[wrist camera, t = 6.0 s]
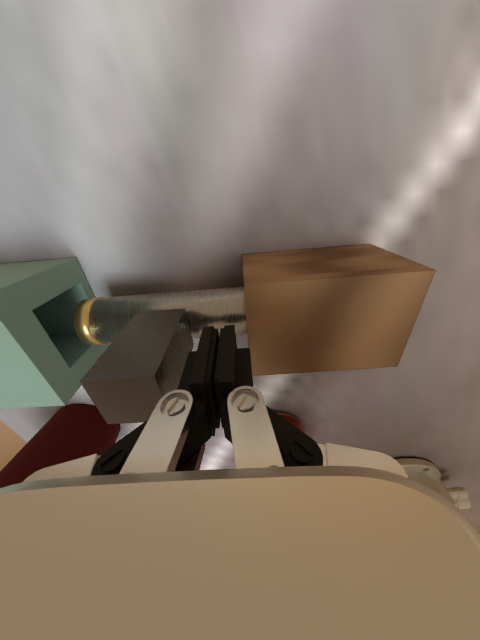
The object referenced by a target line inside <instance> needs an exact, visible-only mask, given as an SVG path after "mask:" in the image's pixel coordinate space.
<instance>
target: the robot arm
mask: <svg viewBox="0 0 480 640" xmlns="http://www.w3.org/2000/svg"><path fill="white" fill-rule="evenodd" d="M220 418H221V423H222V428H224V433H225V437H226V438H227V439H228V440H229V441H230V442H231V443H232V444H233V451H234V459H235V466H236V469H220V470H199V468H200V465H201V461H202V457H203V454H204V450H205V443H206V442H207V441H208V440H209V439H210V438H211V436H215V428H219V427H220ZM440 480H441V474H440V472H439V470H438V469H437V468H436V466H435V465H434V464H432V463H431V462H429V461H426V460H423V459H417V458H401V459H393V458H392V457H390V456H389V455H387V454H384V453H381V452H376V451H371V450H365V449H360V448H354V447H349V446H343V445H338V444H332V443H327V442H326V445H323V444H318V443H316V442H315V441H314V440H313V439H312V438H310V437H309V436H308V435H306V434H305V433H303V432H302V431H301V430H299V429H298V428H296V427H295V426H294V425H292V424H291V423H289V422H288V421H287V420H285V419H284V418H283V417H281V416H280V415H278V414H277V413H276V412H274V411H273V410H271V409H270V408H269V407H267V406H266V405H265V402H264V399H263V396H262V394H261V392H260V391H259V390H258V389H256V388H254V387H253V380H252V367H251V354H250V348H241V349H237V343H236V333H235V325H224V328H221V329H220V337H219V332H218V329H214V326H208V327H203V329H202V333H201V337H200V341H199V345H198V349H197V351H193V352H189V353H188V356H187V359H186V363H185V366H184V369H183V373H182V376H181V379H180V383H179V386H178V389H177V390H174V391H171V392H169V393H167V394H165V395H164V396H163V397H162V398H161V399H160V400H159V402H158V403H157V405H156V407H155V409H154V411H153V413H152V414H151V416H150V418H149V420H147V421H146V422H144V423H143V424H142V425H140V426H139V427H137V428H136V429H135V430H133V431H132V432H130V433H129V434H128V435H126V436H125V437H124V438H122V439H121V440H119V441H118V442H117V443H115V444H114V445H112V446H111V447H110V448H108V449H107V450H106V451H105V452H104V453H102V454H101V455H100V456H98V455H97V454H93V455H90V456H86V457H83V458H79V459H75V460H72V461H68V462H64V463H61V464H57V465H54V466H50V467H46V468H43V469H41V470H38V471H36V472H34V473H33V474H32V475H30V476H29V477H27V478H26V479H25V480H24V481H23V482H22V483H18V484H13V485H10V486H6V487H3V488H0V640H480V532H479V531H478V530H477V528H476V527H475V526H474V525H473V524H472V523H471V522H470V521H469V519H468V518H467V517H466V516H465V515H464V514H463V513H462V512H461V511H460V510H459V509H469V508H471V504H470V501H469V499H468V494H467V492H466V491H465V490H464V489H463V488H462V487H454V488H446V487H445V486H444V485H443V484H442V483H441V481H440Z"/></svg>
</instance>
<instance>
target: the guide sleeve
mask: <svg viewBox="0 0 480 640" xmlns="http://www.w3.org/2000/svg"><path fill="white" fill-rule="evenodd" d="M242 263H243V278H244V293H245V306H246V319H247V333H248V346H249V348H250V354H251V367H252V376H258V375H274V374H289V373H305V372H321V371H337V370H352V369H368V368H384V367H397V366H398V364H399V361H400V359H401V356H402V354H403V351H404V349H405V346H406V344H407V341H408V339H409V336H410V334H411V331H412V329H413V326H414V324H415V321H416V319H417V316H418V314H419V311H420V309H421V306H422V304H423V301H424V299H425V296H426V294H427V291H428V289H429V286H430V284H431V281H432V278H433V276H434V273H435V271H436V270H434V269H431V268H429V267H426V266H424V265H421V264H419V263H416V262H414V261H411V260H409V259H406V258H404V257H401V256H399V255H396V254H394V253H391V252H389V251H386V250H384V249H381V248H379V247H376V246H374V245H371V244H362V245H350V246H338V247H326V248H314V249H302V250H289V251H277V252H265V253H253V254H242Z"/></svg>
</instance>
